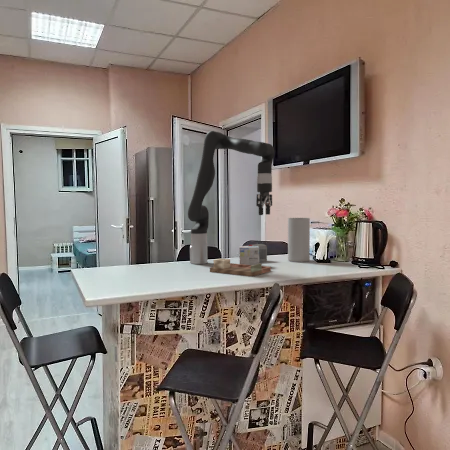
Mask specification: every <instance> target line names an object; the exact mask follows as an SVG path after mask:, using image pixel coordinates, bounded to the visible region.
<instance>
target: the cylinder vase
mask: <svg viewBox="0 0 450 450" xmlns="http://www.w3.org/2000/svg"><path fill="white" fill-rule="evenodd" d="M310 219H311V218H310V217H288V218H287V260H288V262H291V261H292V262H291V263H306V262H307V263H308V262H309V261H310V259H311V258H310V257H311V256H310V252H311V251H310V247H311V246H310V245H311V244H310V242H311V241H310V238H311V237H310V231H311V229H310V226H311V225H310Z"/></svg>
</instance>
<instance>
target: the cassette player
mask: <svg viewBox="0 0 450 450" xmlns="http://www.w3.org/2000/svg"><path fill="white" fill-rule="evenodd" d="M248 246H259V261H261V262H268V247H267V246H268V245H265V244H263V243H260V244H259V243H258V244H249V245H248Z"/></svg>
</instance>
